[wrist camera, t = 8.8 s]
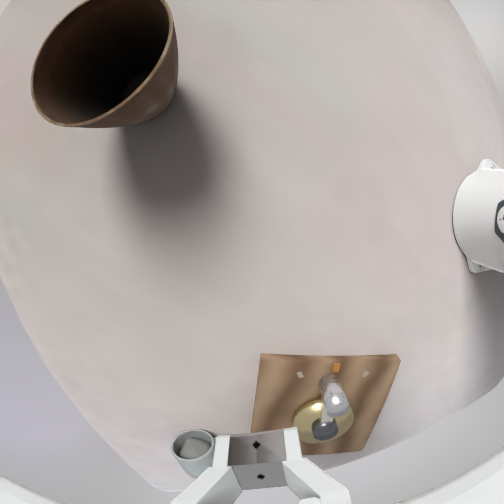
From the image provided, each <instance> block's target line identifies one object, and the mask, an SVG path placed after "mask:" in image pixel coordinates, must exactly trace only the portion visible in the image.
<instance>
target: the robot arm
mask: <svg viewBox="0 0 504 504" xmlns="http://www.w3.org/2000/svg"><path fill="white" fill-rule="evenodd" d="M453 227H454V233H455V237H456V240H457V242H458V245H459V247H460V248H461V250H462V251H463V253H464V254H465V256H466V258H467V262H468V267H469V270H470V271H471V272H473V273H480V272H484V271H488V270H492V269H493V270H496V271H499V272H502V273H504V169H501V168H500V167H498V166H497V165H496V164H495V163H493V162H492V161H491V160H489V159H483V160H482V161H481V163H480V165H479V166H478V168H477V170H476V171H475V172H473V173H472V174H470V175H469V176H468V177H466V179H465V180H464V181H463V182H462V184H461V186H460V188H459V190H458V192H457V195H456V198H455V203H454V209H453ZM479 265H480V266H479ZM281 486H288V488H289V489H290V490H291V491H292V492H293V493H294V494H295V495H296V496H297V497H298V498H299V499H300V500H301V501H300V502H299V504H352V502H351V499H350V495H349V491H348V489H347V488H346V487H344V486H343V485H342V484H340V483H339V482H337V481H336V480H335V479H333V478H332V477H331V476H329V475H328V474H326V473H325V472H324V471H323V470H321V469H320V468H319V467H318V466H316V465H315V464H314V463H312V462H311V461H310V460H309V459H307V458H302V453H301V447H300V441H299V435H298V429H297V427H291V428H285V429H278V430H271V431H264V432H257V433H248V434H233V435H218V436H217V438H216V443H215V451H214V458H213V465H212V467H208V468H207V469H206V470H205V471H204V472H203V473H202V474H201V475H200V476H199V477H198V478H197V479H196V480H195V481H193V482H192V483H191V484H190V485H189V486H188V487H187V488H186V489H185V490H184V491H183V492H182V493H181V494H179V495H178V496H177V497H176V498H175V499H174V500H173V501H171V502H170V504H233V503H234V502H235V501H236V499H237V498H238V497H239V495H240V494H241V493H242V490H248V489H249V490H250V489H259V488H270V487H281ZM0 504H64V503H61V502H59V501H56V500H54V499H51V498H49V497H46V496H44V495H42V494H40V493H37V492H35V491H33V490H31V489H28V488H27V487H25V486H23V485H21V484H18V483H16V482H15V481H13V480H11V479H9V478H7V477H0ZM396 504H504V448H502V449H501V450H500V451H498V452H496V453H495V454H493V455H492V456H490V457H489V458H487V459H486V460H484V461H482V462H481V463H479V464H478V465H476V466H474V467H473V468H471V469H469V470H467V471H466V472H464V473H462V474H460V475H458V476H456V477H455V478H453V479H451V480H449V481H447V482H445V483H443V484H441V485H439V486H437V487H435V488H432V489H430V490H428V491H426V492H424V493H421V494H419V495H417V496H414V497H412V498H409V499H406V500H404V501H401V502H399V503H396Z"/></svg>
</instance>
